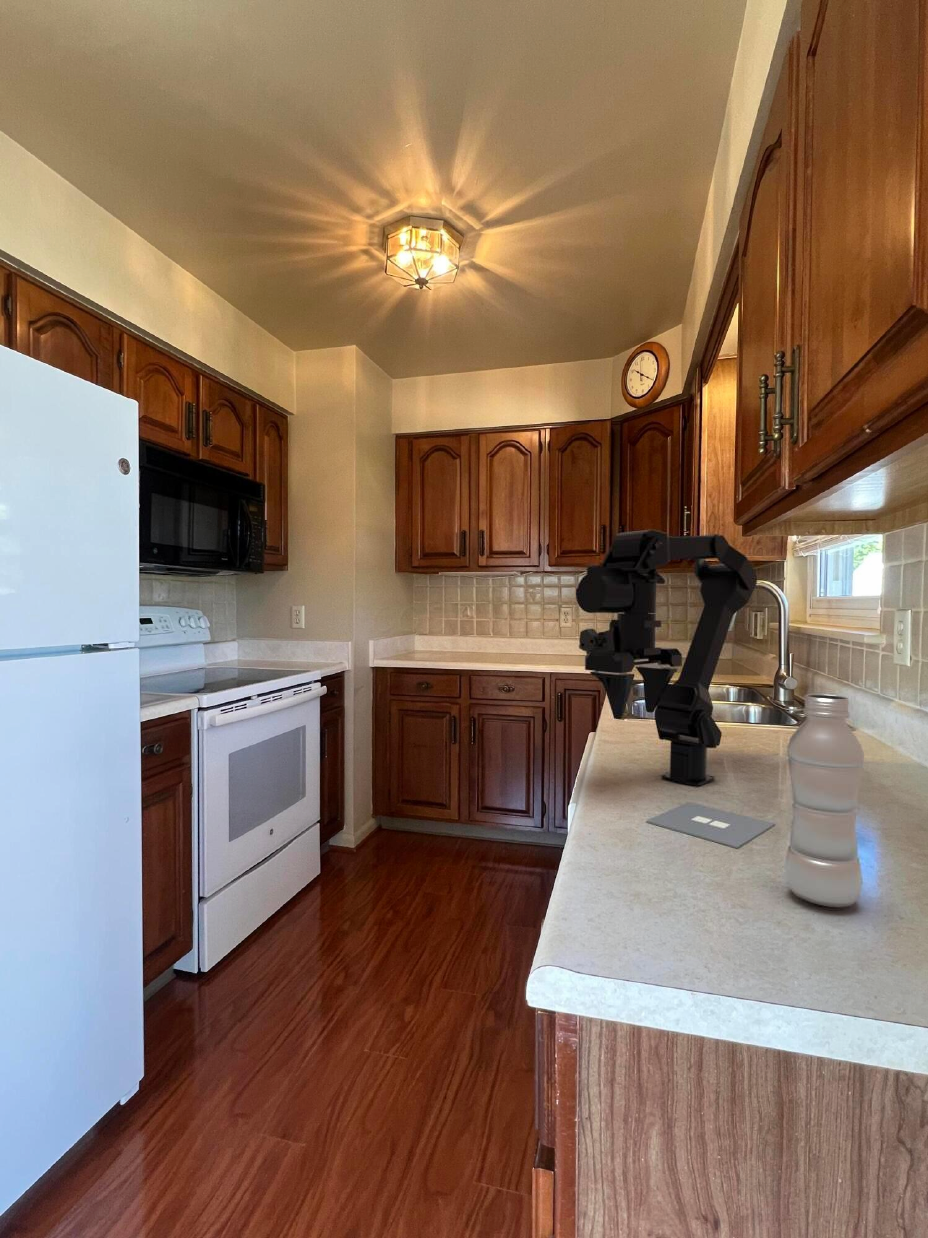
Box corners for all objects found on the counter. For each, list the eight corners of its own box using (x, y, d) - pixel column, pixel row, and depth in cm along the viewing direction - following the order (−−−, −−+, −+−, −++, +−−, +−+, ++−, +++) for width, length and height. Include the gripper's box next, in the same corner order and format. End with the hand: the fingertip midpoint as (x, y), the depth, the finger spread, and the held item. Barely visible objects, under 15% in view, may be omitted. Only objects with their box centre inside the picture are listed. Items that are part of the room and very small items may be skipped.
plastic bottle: (879, 914, 58) (885, 701, 57) (814, 919, 57) (820, 702, 56) (827, 883, 64) (832, 691, 64) (768, 887, 63) (773, 692, 63)
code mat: (688, 803, 90) (688, 801, 90) (775, 825, 81) (775, 823, 81) (646, 822, 82) (646, 820, 82) (737, 848, 73) (737, 847, 73)
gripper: (623, 612, 106) (621, 703, 107) (556, 612, 93) (554, 715, 94) (684, 614, 98) (682, 711, 99) (620, 613, 85) (618, 726, 86)
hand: (634, 715), depth 94 cm, fingers open, 9 cm apart
